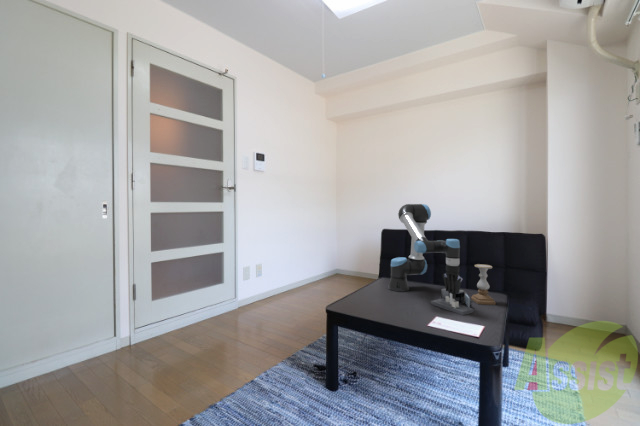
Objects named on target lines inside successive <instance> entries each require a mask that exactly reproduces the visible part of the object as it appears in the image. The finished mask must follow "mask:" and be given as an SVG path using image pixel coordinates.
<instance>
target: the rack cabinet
mask: <svg viewBox="0 0 640 426" xmlns="http://www.w3.org/2000/svg"><path fill="white" fill-rule="evenodd" d="M440 292H441V293H440V297H441V298H440V299H444V300H446V296H449V292H448V291H446V289H445V287H444V288H441V290H440ZM465 293H466V290H463V289H460V291H459V293H456V299H455V301H458V302H459V304H460V305H463V304H466V303H465Z"/></svg>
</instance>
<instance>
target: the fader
mask: <svg viewBox="0 0 640 426" xmlns="http://www.w3.org/2000/svg"><path fill="white" fill-rule="evenodd" d="M452 307H455V308H456V307H459V302H458V301H452Z"/></svg>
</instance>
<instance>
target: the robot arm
mask: <svg viewBox="0 0 640 426" xmlns="http://www.w3.org/2000/svg"><path fill="white" fill-rule="evenodd" d="M397 216H398V220H399V221H400V222H401V223H402V224H403V226H404V227H405V228H406V230H407V231H408V233H409V235H410V237H411V240H410V241H411V242H410V243H411V245H410V255H409V256H408V258H407V257H400V256H398V257H395V258H392V259H391V260H390V279H389V283H388V290H390V291H395V292H408V291H409V290H410V286H409V283H408V279H407V278H408V276H412V275H413V276H414V275H415V276H419V275H424V274H425V273H426V272H427V270H428V264H427V260H426V259H425V257H424V256H423V254H431V253H433V254H434V253H435V254H436V253H437V254H438V253H441V254H445V264H446V265H445V273H443V274H442V275H441V276H442V279H443V282H444V288H445V289H446V291H448V292H449V298H450V304H452V301H455V299H456V293H459V291H460V290H461V286H462V282H463V281H464V278H463V277H462V276H460V262H461V261H460V254H461V253H460V251H461V250H460V249H461V245H460V239H457V238H447V239H445V240H443V239H439V240H428V238H427V237H426V236H425V226H426V224H427V223H428V221H429V220H430V219H431V216H432V211H431V209H430V207H429V205H427V204H423V203H406V204H404V205H402V206H401V207H400V208H399V210H398V213H397Z"/></svg>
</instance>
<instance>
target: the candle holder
mask: <svg viewBox="0 0 640 426" xmlns="http://www.w3.org/2000/svg"><path fill="white" fill-rule="evenodd" d="M474 267H475V268H478V270H479V272H480V273H479V274H478V277H479V278H480V279H479V280H478V282H477V284H476V287H477V289H478V290H477V293H476V294H472V296H471V297H470V300H472V301H473V302H474V303H475V304H477V305H486V306H487V305H488V306H489V305H491V306H496V301H495V300H494V298H493V297H491V296H490V295H489V291H488V290H489V289H490V284H489V282H488V281H487V278H488V277H489V276H488V273H487V272H488V270H491V269H493V266H492V265H490V264H480V263H477V264H474Z"/></svg>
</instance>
